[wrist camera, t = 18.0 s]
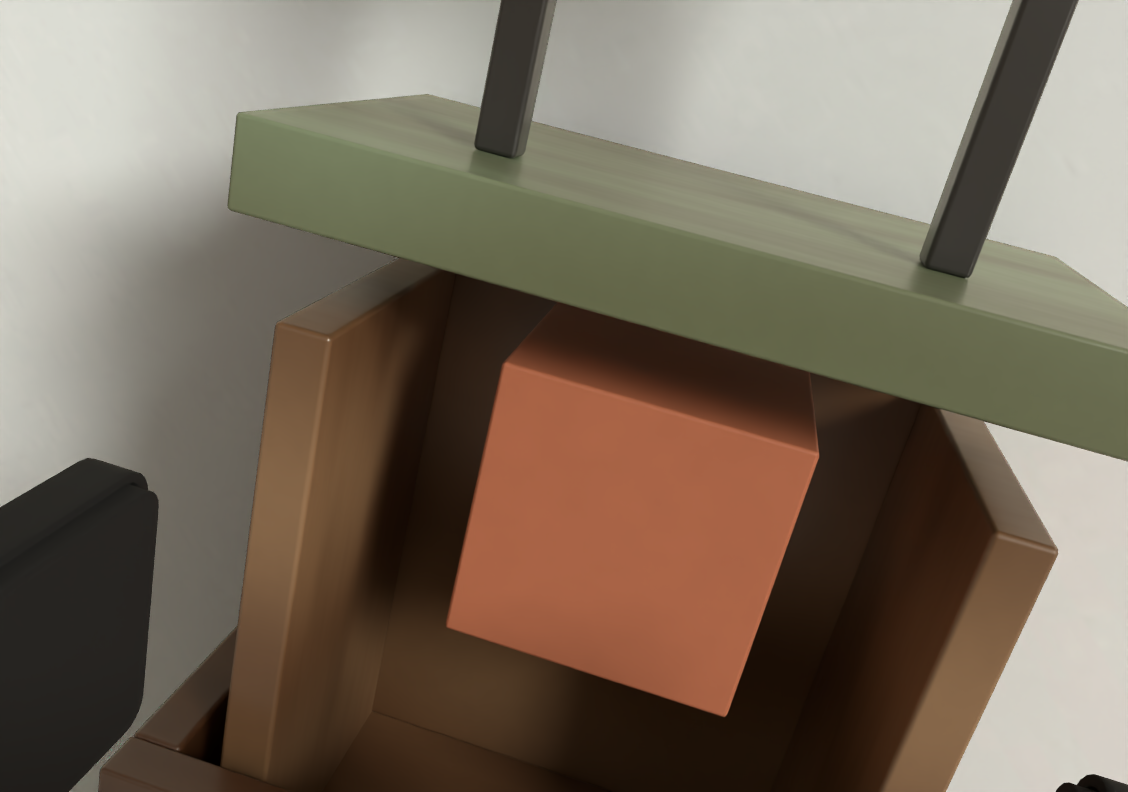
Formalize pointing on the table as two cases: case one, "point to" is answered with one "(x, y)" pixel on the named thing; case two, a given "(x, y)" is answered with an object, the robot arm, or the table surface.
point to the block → (634, 504)
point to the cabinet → (184, 739)
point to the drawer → (684, 308)
